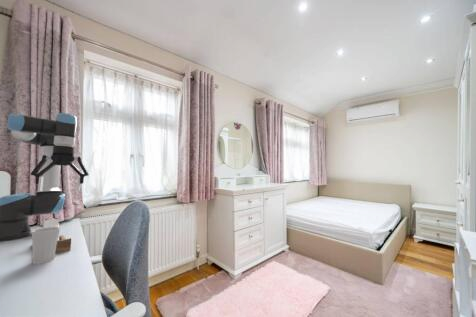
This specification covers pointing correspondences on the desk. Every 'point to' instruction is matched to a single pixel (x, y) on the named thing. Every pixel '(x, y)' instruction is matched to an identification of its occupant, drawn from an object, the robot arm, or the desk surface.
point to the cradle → (63, 244)
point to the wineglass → (51, 223)
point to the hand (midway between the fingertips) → (59, 191)
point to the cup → (44, 244)
